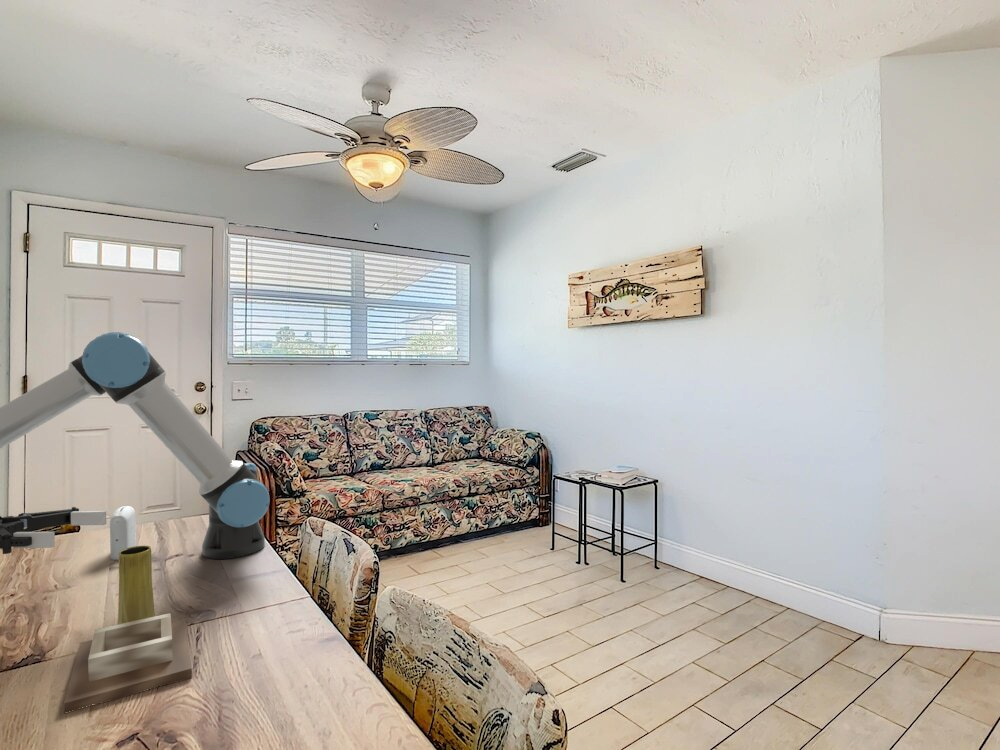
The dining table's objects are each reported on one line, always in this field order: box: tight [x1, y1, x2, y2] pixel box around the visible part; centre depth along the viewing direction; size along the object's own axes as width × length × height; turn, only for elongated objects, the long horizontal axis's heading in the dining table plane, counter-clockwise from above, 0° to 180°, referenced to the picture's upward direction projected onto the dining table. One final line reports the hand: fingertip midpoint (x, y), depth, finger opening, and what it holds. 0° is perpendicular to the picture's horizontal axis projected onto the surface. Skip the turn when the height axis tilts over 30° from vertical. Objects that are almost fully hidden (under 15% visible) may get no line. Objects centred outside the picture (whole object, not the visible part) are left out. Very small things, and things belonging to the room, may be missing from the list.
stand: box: [63, 612, 193, 714], centre depth 90 cm, size 16×20×5 cm
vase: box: [116, 545, 156, 625], centre depth 104 cm, size 6×6×14 cm
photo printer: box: [109, 505, 137, 561], centre depth 142 cm, size 10×4×12 cm, turn 22°
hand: (81, 528), depth 103 cm, fingers open, 13 cm apart
